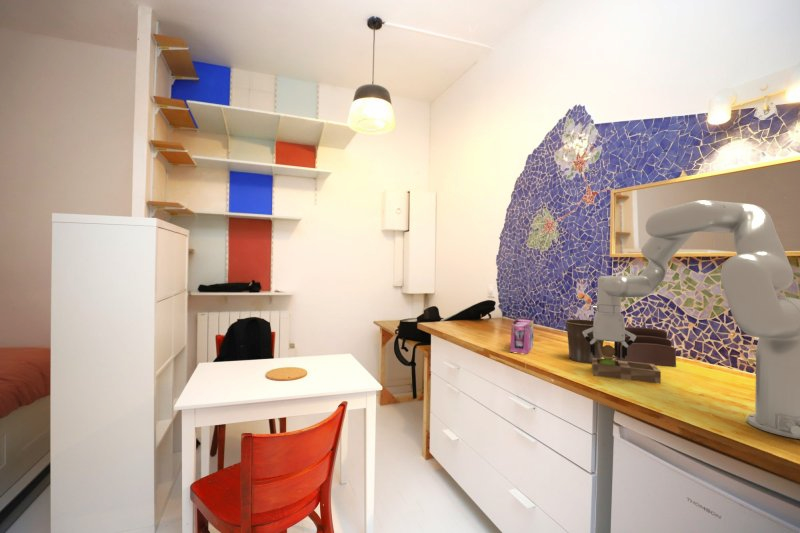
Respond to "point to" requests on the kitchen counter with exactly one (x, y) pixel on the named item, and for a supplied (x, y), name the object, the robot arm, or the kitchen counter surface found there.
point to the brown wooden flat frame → (627, 371)
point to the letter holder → (647, 347)
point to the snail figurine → (606, 354)
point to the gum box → (521, 335)
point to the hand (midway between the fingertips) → (608, 356)
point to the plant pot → (581, 341)
